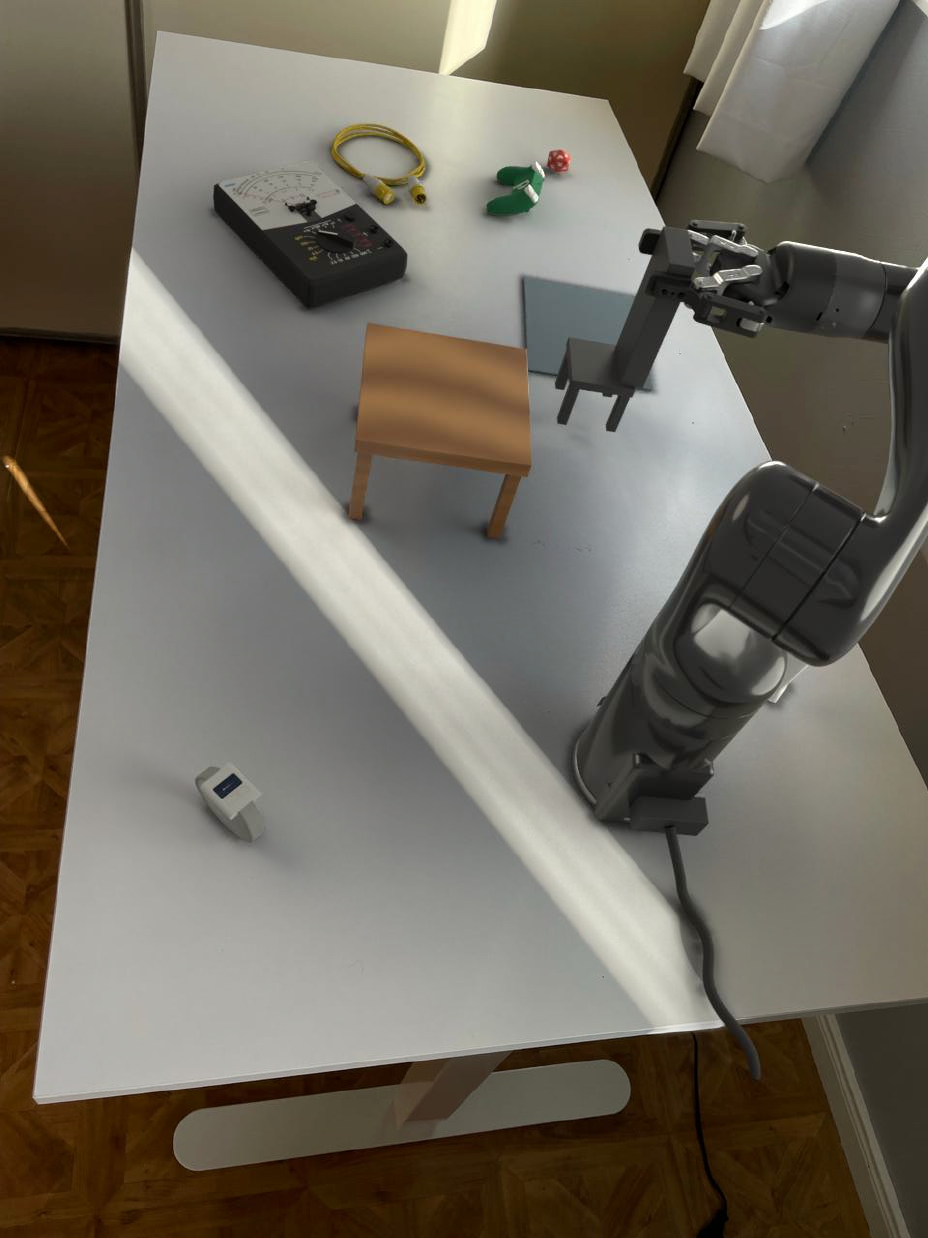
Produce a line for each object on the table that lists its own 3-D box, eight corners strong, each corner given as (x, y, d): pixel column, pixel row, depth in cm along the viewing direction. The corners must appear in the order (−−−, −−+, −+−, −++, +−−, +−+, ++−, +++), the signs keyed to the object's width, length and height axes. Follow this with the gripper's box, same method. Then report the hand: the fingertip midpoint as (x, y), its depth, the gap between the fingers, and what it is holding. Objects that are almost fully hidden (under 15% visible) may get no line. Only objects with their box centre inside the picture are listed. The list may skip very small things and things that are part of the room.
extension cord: (323, 194, 118) (324, 178, 117) (337, 124, 128) (338, 108, 126) (424, 214, 120) (426, 199, 119) (431, 143, 129) (433, 129, 128)
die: (541, 164, 132) (547, 142, 129) (563, 165, 133) (569, 143, 130) (548, 177, 130) (554, 156, 128) (569, 178, 131) (576, 157, 129)
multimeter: (308, 313, 106) (311, 273, 102) (211, 210, 112) (211, 169, 108) (405, 280, 112) (412, 241, 108) (308, 185, 119) (311, 145, 115)
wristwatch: (273, 834, 73) (276, 806, 69) (243, 859, 71) (245, 832, 67) (216, 777, 75) (216, 746, 70) (187, 801, 73) (185, 770, 69)
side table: (503, 542, 93) (532, 465, 85) (343, 521, 91) (355, 439, 82) (501, 428, 102) (527, 348, 93) (355, 406, 99) (367, 322, 91)
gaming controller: (498, 233, 124) (539, 213, 121) (482, 207, 122) (524, 186, 119) (510, 194, 129) (550, 174, 126) (495, 168, 127) (536, 147, 124)
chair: (618, 391, 107) (687, 226, 90) (623, 435, 103) (696, 271, 87) (553, 381, 105) (611, 212, 89) (555, 424, 102) (616, 256, 86)
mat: (651, 390, 110) (651, 389, 110) (527, 370, 108) (528, 369, 108) (637, 298, 119) (638, 297, 119) (523, 278, 117) (524, 276, 117)
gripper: (823, 210, 93) (650, 176, 91) (856, 308, 85) (667, 275, 82) (786, 277, 99) (624, 248, 97) (814, 375, 91) (637, 346, 89)
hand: (644, 260), depth 90 cm, fingers closed on chair, 5 cm apart
